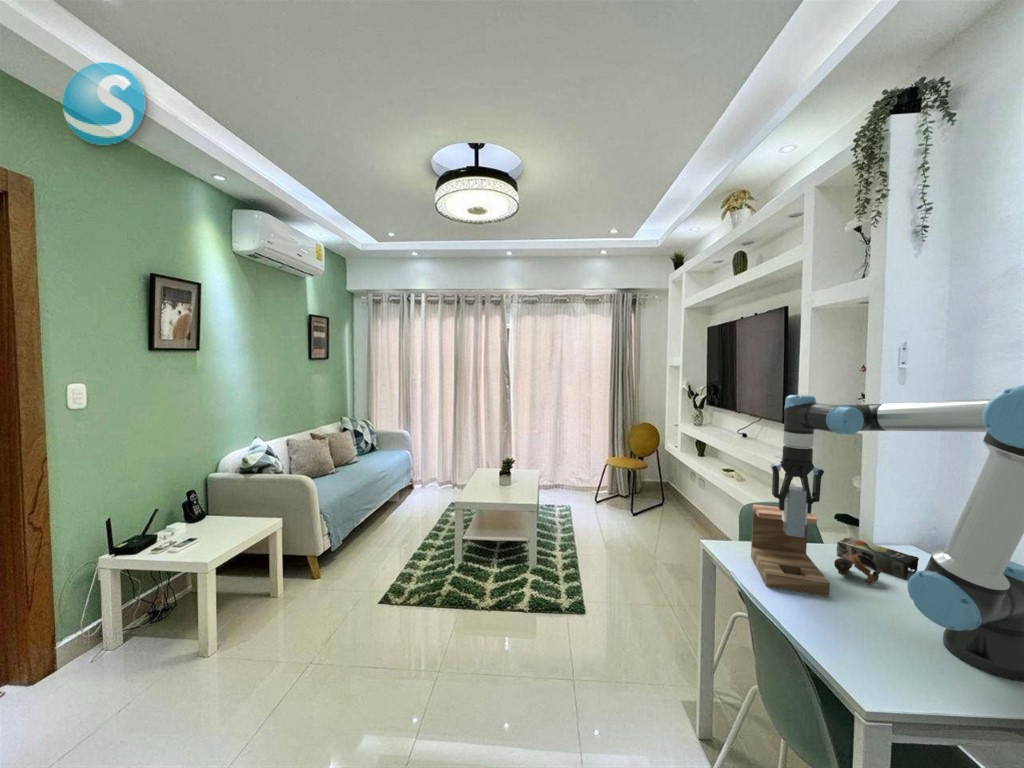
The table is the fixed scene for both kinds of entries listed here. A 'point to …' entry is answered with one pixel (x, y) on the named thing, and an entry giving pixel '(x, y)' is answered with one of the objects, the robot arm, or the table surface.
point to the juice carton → (878, 556)
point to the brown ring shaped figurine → (858, 566)
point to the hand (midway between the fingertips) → (793, 521)
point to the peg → (795, 512)
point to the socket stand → (784, 554)
